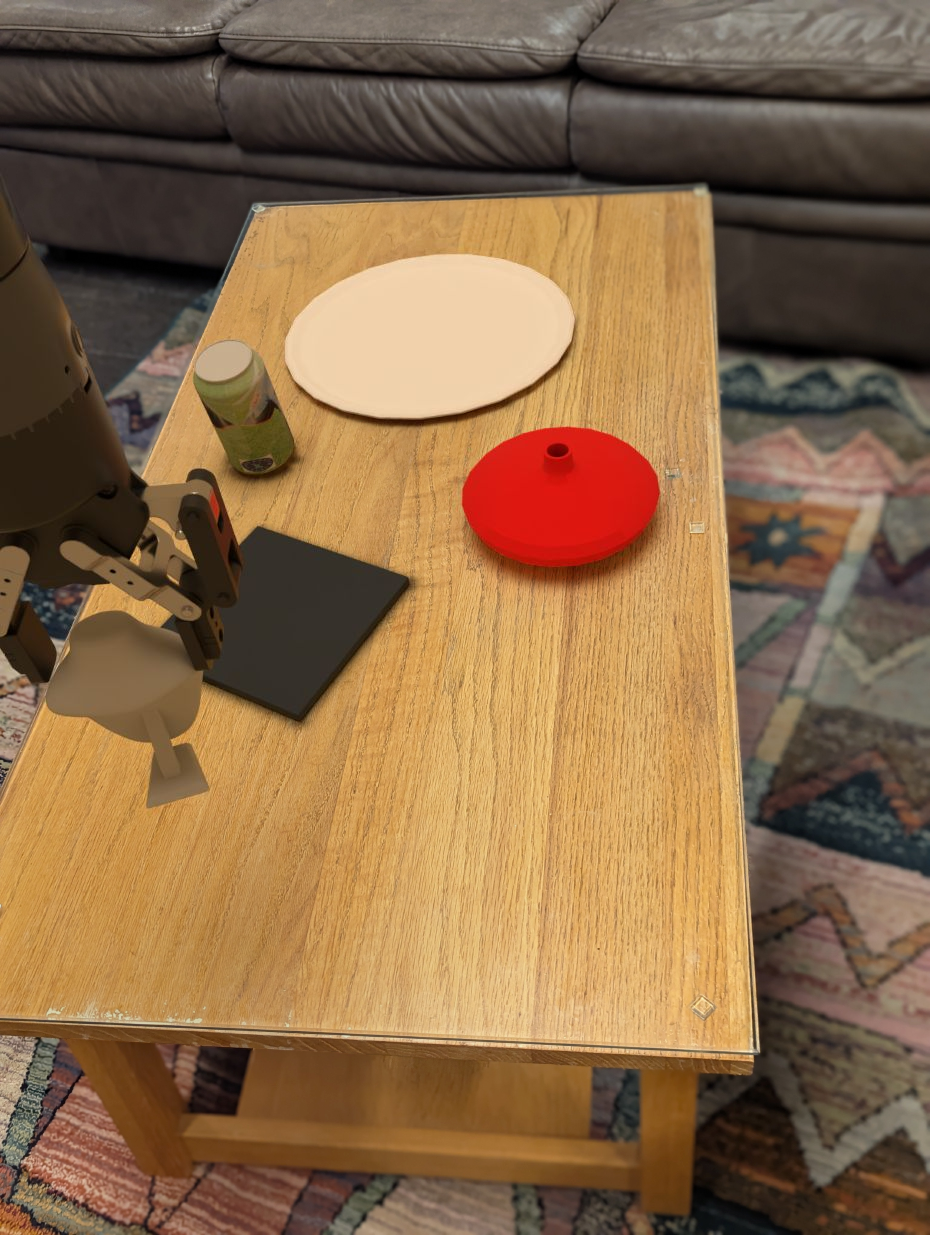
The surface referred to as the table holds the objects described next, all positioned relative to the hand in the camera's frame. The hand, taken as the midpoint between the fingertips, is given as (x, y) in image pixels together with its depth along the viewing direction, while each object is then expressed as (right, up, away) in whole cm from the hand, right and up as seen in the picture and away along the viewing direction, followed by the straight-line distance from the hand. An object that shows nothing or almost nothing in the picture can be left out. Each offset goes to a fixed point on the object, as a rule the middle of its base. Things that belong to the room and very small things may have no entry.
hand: (127, 663), depth 52 cm
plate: (+13, +30, +56) cm, 65 cm away
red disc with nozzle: (+24, +10, +36) cm, 45 cm away
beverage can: (-2, +16, +45) cm, 48 cm away
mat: (+2, +2, +32) cm, 32 cm away
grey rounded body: (+1, -6, +6) cm, 9 cm away
